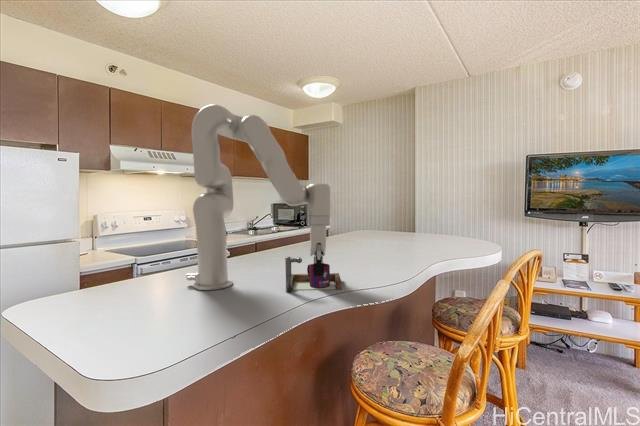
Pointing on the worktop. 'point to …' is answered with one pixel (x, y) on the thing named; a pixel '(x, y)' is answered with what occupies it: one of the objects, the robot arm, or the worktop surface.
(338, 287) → the frame
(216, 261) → the robot arm
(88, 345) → the worktop surface
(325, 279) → the mug
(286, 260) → the hook post
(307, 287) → the bay mat
